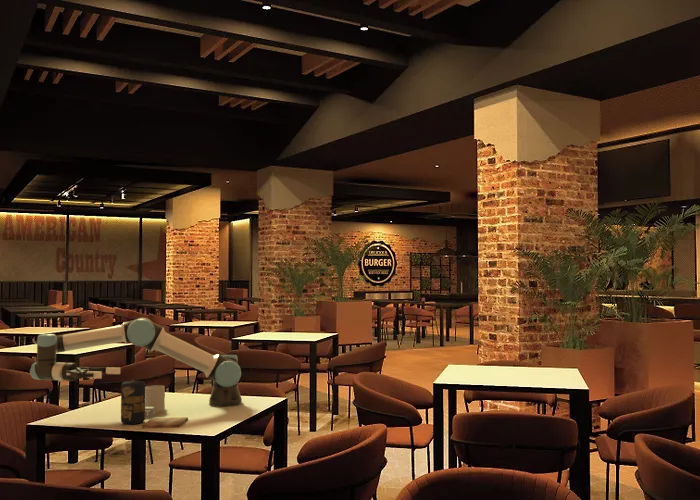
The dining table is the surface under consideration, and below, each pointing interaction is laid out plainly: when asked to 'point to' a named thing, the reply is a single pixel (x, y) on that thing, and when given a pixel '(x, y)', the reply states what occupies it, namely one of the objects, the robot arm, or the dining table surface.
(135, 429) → the dining table surface
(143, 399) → the canister
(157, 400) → the mug
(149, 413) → the letter cube
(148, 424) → the walnut board
